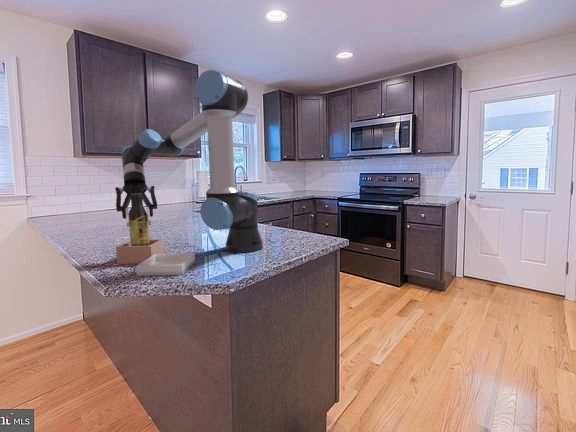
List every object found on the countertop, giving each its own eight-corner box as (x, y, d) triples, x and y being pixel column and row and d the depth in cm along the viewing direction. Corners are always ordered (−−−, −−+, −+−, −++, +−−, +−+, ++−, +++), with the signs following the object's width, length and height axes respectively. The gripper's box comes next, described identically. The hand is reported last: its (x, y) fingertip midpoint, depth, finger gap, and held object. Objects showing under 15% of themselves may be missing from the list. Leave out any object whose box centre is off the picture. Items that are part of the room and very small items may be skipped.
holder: (164, 254, 122) (163, 239, 121) (152, 263, 110) (150, 246, 109) (133, 255, 122) (132, 240, 121) (117, 263, 110) (115, 247, 109)
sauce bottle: (142, 250, 112) (137, 194, 109) (127, 249, 113) (121, 194, 110) (154, 245, 118) (148, 192, 116) (139, 245, 119) (134, 193, 117)
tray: (195, 261, 110) (194, 253, 110) (182, 274, 97) (181, 265, 96) (155, 263, 110) (154, 254, 110) (136, 275, 96) (135, 266, 96)
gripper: (160, 183, 131) (167, 227, 118) (107, 185, 122) (109, 232, 110) (160, 169, 125) (167, 214, 113) (105, 171, 117) (106, 219, 104)
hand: (138, 223), depth 111 cm, fingers closed on sauce bottle, 6 cm apart
